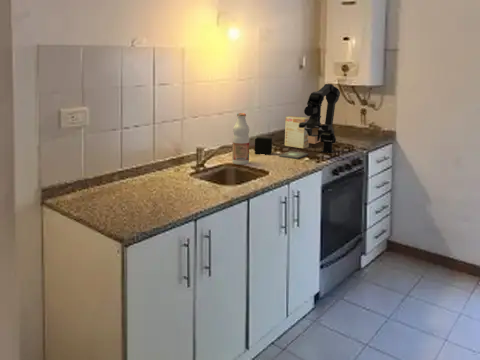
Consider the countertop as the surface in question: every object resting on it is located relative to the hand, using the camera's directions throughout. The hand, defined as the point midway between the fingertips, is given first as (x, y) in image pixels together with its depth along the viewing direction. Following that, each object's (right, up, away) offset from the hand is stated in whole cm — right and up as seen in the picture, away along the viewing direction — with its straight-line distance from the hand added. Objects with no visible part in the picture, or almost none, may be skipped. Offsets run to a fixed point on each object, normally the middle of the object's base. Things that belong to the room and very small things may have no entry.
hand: (314, 140), depth 316 cm
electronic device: (-30, -8, +11) cm, 33 cm away
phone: (0, -1, 0) cm, 1 cm away
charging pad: (-11, -9, +7) cm, 16 cm away
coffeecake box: (-7, -1, +37) cm, 38 cm away
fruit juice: (-44, -14, -15) cm, 48 cm away
